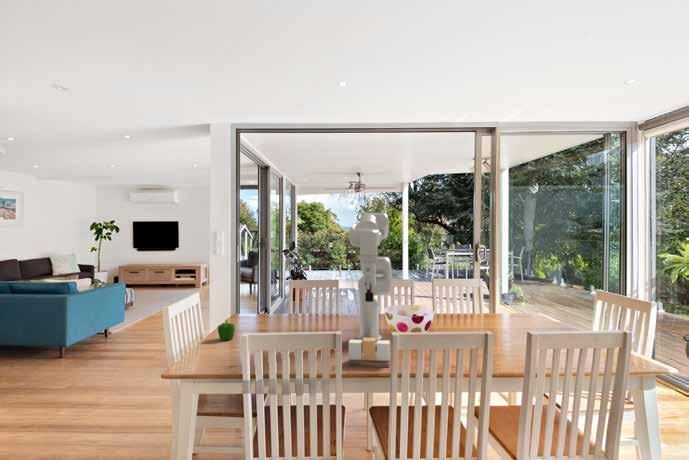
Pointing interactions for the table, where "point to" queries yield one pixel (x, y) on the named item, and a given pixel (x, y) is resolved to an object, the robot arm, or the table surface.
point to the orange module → (369, 349)
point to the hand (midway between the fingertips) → (369, 301)
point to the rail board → (380, 360)
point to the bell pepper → (226, 331)
